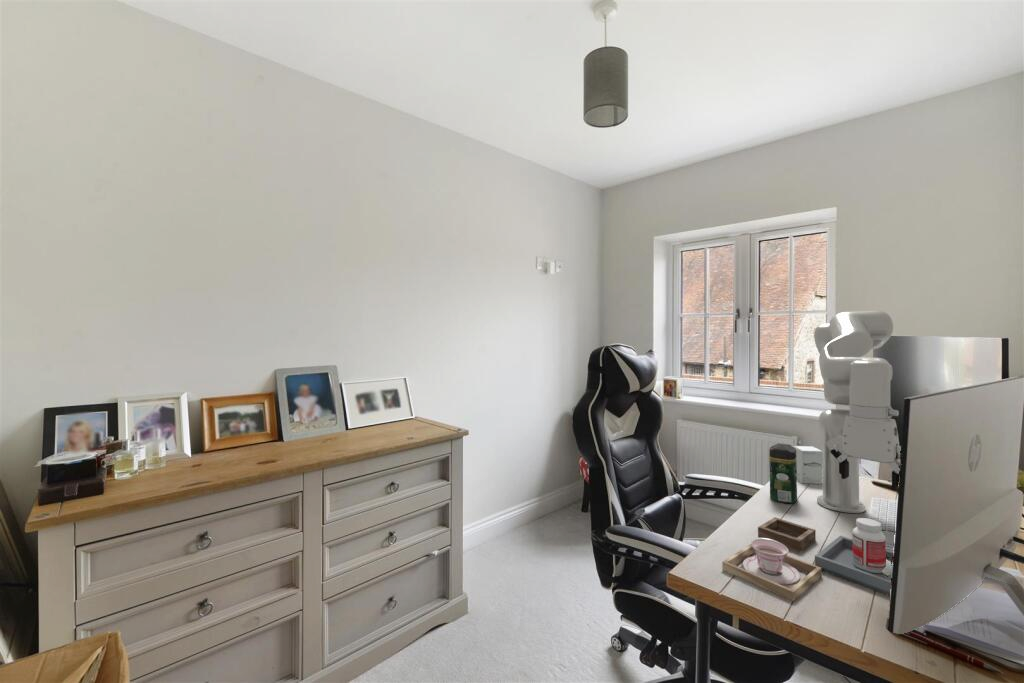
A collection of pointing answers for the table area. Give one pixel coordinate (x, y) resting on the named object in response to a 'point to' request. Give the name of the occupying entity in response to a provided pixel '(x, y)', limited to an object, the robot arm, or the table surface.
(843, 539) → the slate tray
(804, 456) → the supplement box
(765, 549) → the teacup
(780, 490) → the coffee jar
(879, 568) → the pill bottle
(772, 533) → the walnut collar
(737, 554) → the light wooden frame
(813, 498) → the table surface
